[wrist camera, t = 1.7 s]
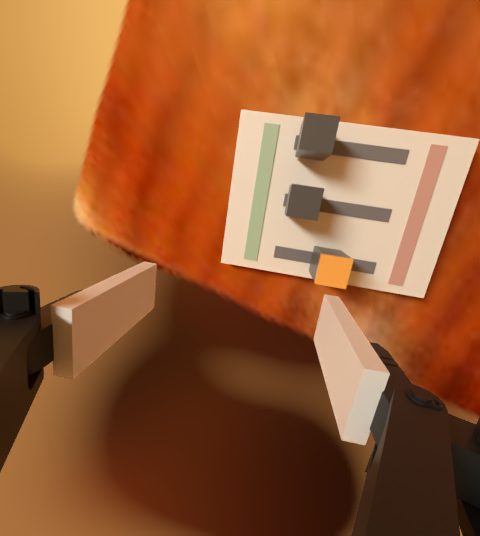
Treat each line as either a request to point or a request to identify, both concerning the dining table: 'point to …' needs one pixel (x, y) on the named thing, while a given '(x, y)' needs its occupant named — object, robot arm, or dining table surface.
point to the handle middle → (304, 201)
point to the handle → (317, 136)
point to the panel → (346, 200)
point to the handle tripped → (330, 267)
